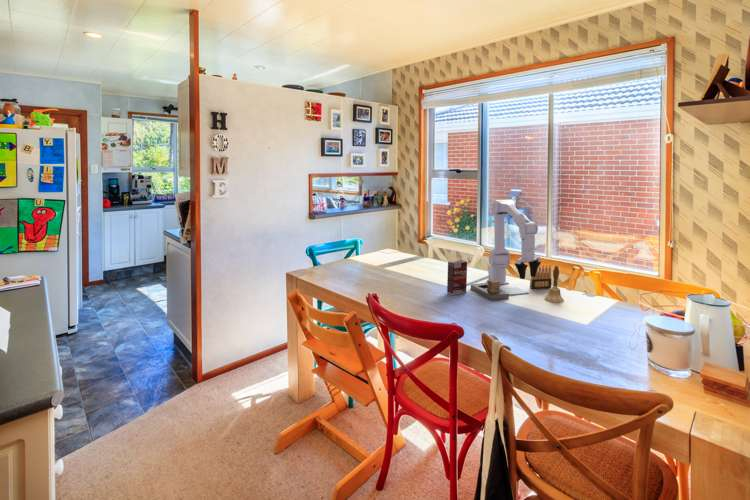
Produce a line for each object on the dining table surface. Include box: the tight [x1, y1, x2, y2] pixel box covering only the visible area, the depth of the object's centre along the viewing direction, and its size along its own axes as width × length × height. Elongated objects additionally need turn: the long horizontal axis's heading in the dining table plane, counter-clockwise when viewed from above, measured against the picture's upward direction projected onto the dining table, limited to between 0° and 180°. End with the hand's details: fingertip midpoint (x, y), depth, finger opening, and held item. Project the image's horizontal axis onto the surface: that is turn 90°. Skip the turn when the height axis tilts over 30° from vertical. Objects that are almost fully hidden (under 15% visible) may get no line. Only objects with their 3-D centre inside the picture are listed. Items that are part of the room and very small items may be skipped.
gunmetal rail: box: [470, 282, 510, 302], centre depth 203 cm, size 20×9×2 cm, turn 15°
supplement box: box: [446, 259, 468, 296], centre depth 204 cm, size 9×5×16 cm, turn 117°
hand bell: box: [543, 265, 565, 304], centre depth 191 cm, size 8×8×16 cm
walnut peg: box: [487, 279, 501, 293], centre depth 199 cm, size 4×4×8 cm
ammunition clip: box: [529, 264, 552, 291], centre depth 209 cm, size 11×2×12 cm, turn 98°
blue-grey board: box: [500, 286, 529, 297], centre depth 206 cm, size 10×10×1 cm
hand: (527, 277), depth 194 cm, fingers open, 7 cm apart
